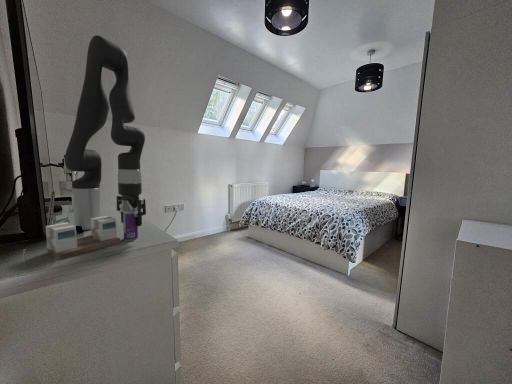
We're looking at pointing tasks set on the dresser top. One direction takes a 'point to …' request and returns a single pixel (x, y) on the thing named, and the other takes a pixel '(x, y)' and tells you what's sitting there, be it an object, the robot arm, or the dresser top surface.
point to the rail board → (67, 244)
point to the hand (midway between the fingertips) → (131, 224)
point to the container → (129, 223)
